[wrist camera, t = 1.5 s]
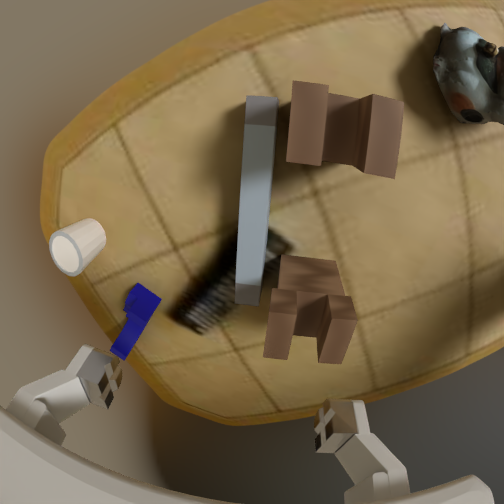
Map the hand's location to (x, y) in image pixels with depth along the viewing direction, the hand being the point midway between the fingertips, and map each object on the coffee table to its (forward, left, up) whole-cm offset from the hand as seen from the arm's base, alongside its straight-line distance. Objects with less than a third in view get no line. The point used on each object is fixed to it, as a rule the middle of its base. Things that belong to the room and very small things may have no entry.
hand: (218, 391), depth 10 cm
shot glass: (+26, +7, -26) cm, 38 cm away
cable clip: (+20, +20, -26) cm, 39 cm away
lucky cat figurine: (-24, -22, -26) cm, 42 cm away
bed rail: (+1, 0, -26) cm, 26 cm away
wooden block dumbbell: (-6, 0, -26) cm, 27 cm away
